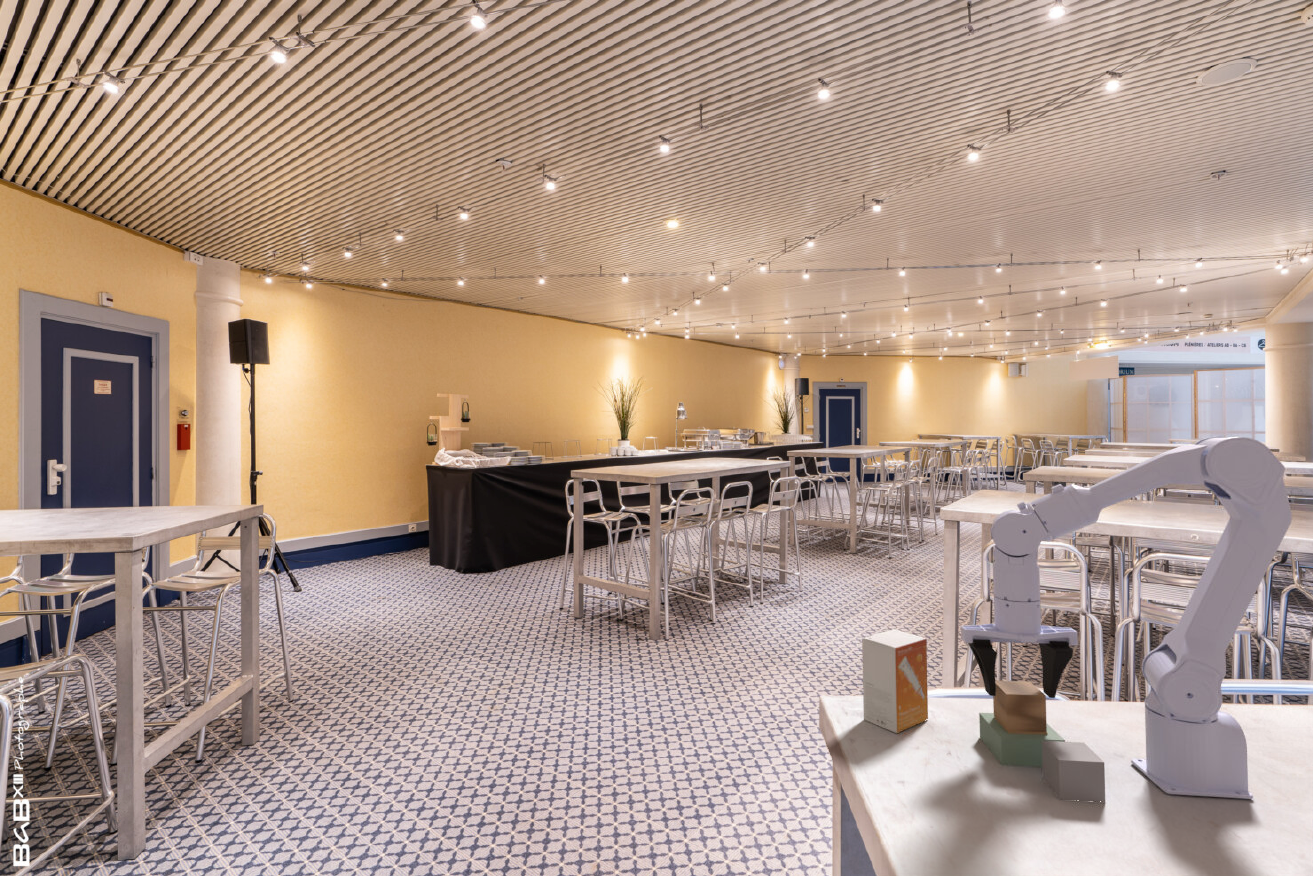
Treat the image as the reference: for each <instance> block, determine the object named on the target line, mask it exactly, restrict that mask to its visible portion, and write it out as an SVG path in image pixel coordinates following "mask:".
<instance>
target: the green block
mask: <svg viewBox="0 0 1313 876" xmlns="http://www.w3.org/2000/svg"><path fill="white" fill-rule="evenodd" d="M978 715H979V717H978V718H979V739H980V740H981V741H982V743H984V744H985V746H986V748H988V750H989V751H990V752H991V754H992V755H993V756H994V757H995V759H996V760H997V761H998V762H999V764H1000V765H1001V766H1002V767H1003V766H1004V767H1005V766H1006V767H1007V766H1009V767H1028V768H1029V767H1031V768H1032V767H1033V768H1042V743H1041V741H1061V742H1066V739H1065V738H1063V737H1062V736H1061V735H1060V734H1059V733H1058V732H1057V731H1056V730H1055V729H1054V728H1053V727H1051V726H1050V725H1049V723H1047V722H1046V726H1047V732H1027V731H1007V730H1006V729H1005V727H1004V726H1003V725H1002V724H1001V723H1000V722H999V720H998V719H997V718H996V717H995V716H994V712H979V713H978Z"/></svg>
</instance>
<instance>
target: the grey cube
mask: <svg viewBox="0 0 1313 876" xmlns="http://www.w3.org/2000/svg"><path fill="white" fill-rule="evenodd" d="M1041 743H1042V767H1041V769H1042V770H1041V771H1042V773H1041V774H1042V775H1041V776H1042V778H1041V779H1042V780H1043V782H1045V784H1046V785H1047V786H1048V787H1049V789H1050V790H1051V791H1052V793H1054V795H1055V796H1056V797H1057V799H1058V800H1059V801H1064V800H1076V801H1075V802H1079V801H1093V802H1092V803H1094V802H1100V801H1101V802H1105V803H1106V779H1105V778H1106V777H1105V776H1106V775H1105V774H1106V773H1105V771H1106V770H1105V761H1104V760H1102V759H1101V758H1100V757H1099V756H1098V755H1097V754H1096V753H1095V752H1094V751H1093V750H1092V749H1091V747H1089V746H1088V745H1087V744H1086V743H1085V742H1080V741H1079V742H1076V741H1075V742H1074V741H1065V742H1061V741H1041ZM1077 800H1079V801H1077Z"/></svg>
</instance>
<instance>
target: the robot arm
mask: <svg viewBox="0 0 1313 876" xmlns="http://www.w3.org/2000/svg"><path fill="white" fill-rule="evenodd" d="M1285 470H1286V467H1285V465H1284V464H1283V463H1282V462H1281V461H1280V460H1279V459H1278V457H1277V456H1276V455H1275V453H1274V452H1272V450H1271V448H1269V447H1268V446H1267V445H1266V444H1264V443H1263V442H1261V441H1259V440H1257V439H1254V438H1250V437H1245V436H1235V437H1233V436H1232V437H1226V436H1209V437H1204V438H1202V439H1199V440H1197V441H1195V443H1194V444H1191V443H1189V444H1185V445H1181V446H1178V447H1175V448H1172V449H1169V450H1166V451H1165V452H1161V453H1159V454H1157V455H1155V456H1152V457H1150V458H1148V459H1146V460H1144V461H1141V462H1140V463H1138V464H1135V465H1134V466H1130V467H1129V468H1127V469H1125V470H1123V471H1121V472H1118V473H1116V474H1114V475H1111V476H1110V477H1108V478H1106V479H1103V480H1102V481H1100V482H1097V483H1096V484H1094V485H1091V486H1089V487H1085V486H1082V485H1078V484H1071V483H1070V484H1068V485H1066V486H1063V484H1061V483H1059V484H1057V485H1054V486H1052V487H1051V492H1050V493H1047V494H1046V495H1043V496H1041V497H1039V498H1036V499H1034V500H1032V501H1030V502H1027V503H1025V501H1021V502H1019V503H1017V504H1016V506H1017V508H1018V509H1019V510H1005V511H1003V512H1001V513H1000V514H998V515H996V517H995V519H993V521H992V523H991V527H990V535H991V538H992V541H993V543H994V549H993V550H992V558H993V559H994V561H993V562H992V582H993V611H994V612H993V613H994V615H993V616H994V617H993V619H994V623H985V624H983V623H981V624H975V625H974V624H972V625H970V624H969V625H960V638H961V640H962V641H963V642H964V643H965V644H968V646H969V648H970V650H971V651H972V654H973V656H974V657H975V660H976V662H977V665H978V667H979V670H980V673H981V676H982V679H983V684H984V689H985V692H986V693H987V694H988V695H989V696H991V697H993V696H996V683H995V681H996V662H997V655H998V652H997V651H996V650H995V649H994V648H993V647H994V646H993V644H991V643H1011V644H1012V643H1013V644H1015V643H1016V644H1017V643H1020V644H1021V643H1022V644H1024V643H1025V644H1038V646H1039V652H1040V658H1041V664H1042V688H1043V689H1042V690H1043V694H1045V695H1046V696H1047V697H1048V698H1050V699H1055V698H1056V695H1057V691H1058V687H1059V683H1060V680H1061V679H1062V678H1061V677H1062V675H1063V673H1064V671H1065V669H1066V667H1067V665H1068V664H1069V662H1070V661H1071V660H1072V659H1073V655H1074V650H1073V648H1072V647H1070V646H1078V645H1079V640H1078V631H1077V630H1075V629H1074V628H1072V627H1067V626H1066V627H1064V626H1063V627H1062V626H1053V625H1052V626H1050V625H1042V611H1041V610H1042V609H1041V582H1040V581H1041V580H1040V579H1041V577H1040V566H1039V564H1038V554H1037V553H1038V552H1037V551H1038V549H1039V547H1040V545H1041V542H1052V541H1053V540H1056V539H1059V538H1061V537H1065V536H1067V535H1068V534H1072V533H1074V532H1076V531H1079V530H1081V529H1084V528H1085V527H1088V526H1090V525H1093V524H1096V523H1097V522H1098V520H1099V516H1100V514H1101V512H1102V510H1103V509H1106V508H1109V507H1111V506H1113V505H1116V504H1118V503H1121V502H1122V503H1123V502H1124V501H1127V500H1130V499H1131V498H1135V497H1138V496H1140V495H1143V494H1145V493H1146V494H1147V493H1148V492H1151V491H1153V490H1155V489H1159V488H1162V487H1165V486H1166V485H1167V486H1168V485H1171V484H1172V485H1192V486H1193V485H1196V486H1197V485H1198V486H1199V485H1200V486H1203V485H1204V487H1206V488H1207V489H1209V490H1210V491H1211V492H1212V493H1214V494H1215V496H1216V498H1217V500H1218V501H1219V502H1220V504H1221V505H1222V506H1223V508H1224V510H1225V511H1226V512H1227V514H1228V515H1229V519H1228V521H1227V523H1226V525H1225V527H1224V529H1223V531H1222V534H1221V535H1220V537H1219V540H1218V541H1217V544H1216V546H1215V547H1214V549H1213V552H1212V554H1211V556H1210V558H1209V561H1208V562H1207V564H1206V566H1205V568H1204V571H1203V572H1202V574H1201V576H1200V578H1199V581H1198V582H1197V585H1196V587H1195V588H1194V590H1193V593H1192V595H1191V597H1190V598H1189V601H1188V602H1187V605H1186V607H1185V609H1184V611H1183V612H1182V615H1181V617H1180V619H1179V621H1178V623H1177V625H1176V627H1175V628H1173V629H1172V630H1171V631H1169V632H1168V633H1166V634H1165V635H1164V636H1163V639H1162V641H1161V643H1159V645H1158V646H1157V647H1155V648H1153V650H1151V651H1149V652H1148V653H1147V654H1145V656H1144V657H1143V659H1142V662H1141V673H1142V675H1143V678H1144V679H1145V681H1146V683H1148V685H1149V686H1150V687H1151V690H1150V691H1149V693H1148V694H1147V696H1146V697H1145V698H1144V714H1145V715H1144V716H1145V717H1144V719H1145V721H1144V722H1145V725H1144V727H1145V754H1146V755H1145V759H1144V758H1131V759H1130V763H1131V764H1132V765H1134V766H1135V767H1136V768H1137V769H1138V770H1139V771H1140V772H1142V774H1144V775H1145V776H1146V777H1147V778H1148V779H1149V780H1150V781H1152V782H1153V783H1154V784H1155V785H1156V786H1157V787H1158V788H1159V789H1160V790H1162V791H1163V792H1164V793H1166V794H1168V795H1182V796H1193V797H1194V796H1196V797H1197V796H1198V797H1211V798H1212V797H1213V798H1214V797H1215V798H1226V799H1227V798H1228V799H1229V798H1231V799H1244V800H1245V799H1246V800H1247V799H1249V800H1251V799H1254V794H1253V793H1252V792H1250V791H1249V777H1248V776H1249V774H1248V771H1249V770H1248V744H1247V743H1248V742H1247V739H1246V736H1245V732H1244V730H1243V728H1242V726H1241V724H1240V723H1239V722H1238V721H1237V719H1236V718H1234V717H1233V715H1231V714H1230V713H1228V712H1225V711H1220V709H1221V708H1222V705H1223V694H1222V684H1223V681H1224V679H1225V676H1226V674H1227V664H1226V663H1227V662H1226V660H1227V659H1226V653H1227V652H1226V651H1227V649H1228V647H1229V645H1230V643H1231V642H1232V640H1233V638H1234V636H1235V634H1236V632H1237V629H1238V628H1239V625H1240V624H1241V623H1242V620H1243V618H1244V616H1245V614H1246V612H1247V610H1248V608H1249V606H1250V604H1251V603H1252V600H1253V598H1254V596H1255V595H1256V592H1257V590H1258V588H1259V586H1260V585H1261V583H1262V581H1263V579H1264V577H1265V575H1266V573H1267V571H1268V569H1269V567H1270V565H1271V563H1272V561H1273V559H1274V557H1275V555H1276V553H1277V551H1278V550H1279V547H1280V545H1281V544H1282V542H1283V540H1284V537H1285V536H1286V534H1287V532H1288V530H1289V528H1290V525H1292V520H1293V513H1292V510H1291V504H1290V501H1289V497H1288V493H1287V489H1286V485H1285V481H1284V477H1285V476H1284V475H1285Z"/></svg>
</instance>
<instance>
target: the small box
mask: <svg viewBox="0 0 1313 876" xmlns="http://www.w3.org/2000/svg"><path fill="white" fill-rule="evenodd" d="M927 640H928V639H927V638H926V637H923V636H920V635H917V634H912V633H910V632H905V631H902V630H898V629H895V628H893V629H890V630H887V631H883V632H878V633H875V634H872V635H870V636H865V637H862V639H861V641H862V642H861V645H862V649H861V650H862V652H861V653H862V655H861V656H862V688H863V689H862V692H863V693H862V695H863V701H862V702H863V720H864V721H867V722H869V723H871V724H874V725H875V726H877V727H880V728H883V729H885V730H888V731H890V732H893V733H895V734H899V733H901V732H902V731H904V730H907V729H909V728H912V727H914V726H917V725H919V724H921V723H923V721H924V722H926V721H925V720H926V719H929V707H928V705H929V703H928V702H929V701H928V699H929V697H928V655H927V654H928V653H927V652H928V651H927V650H928V646H927V645H928V644H927ZM916 724H917V725H916Z"/></svg>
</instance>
